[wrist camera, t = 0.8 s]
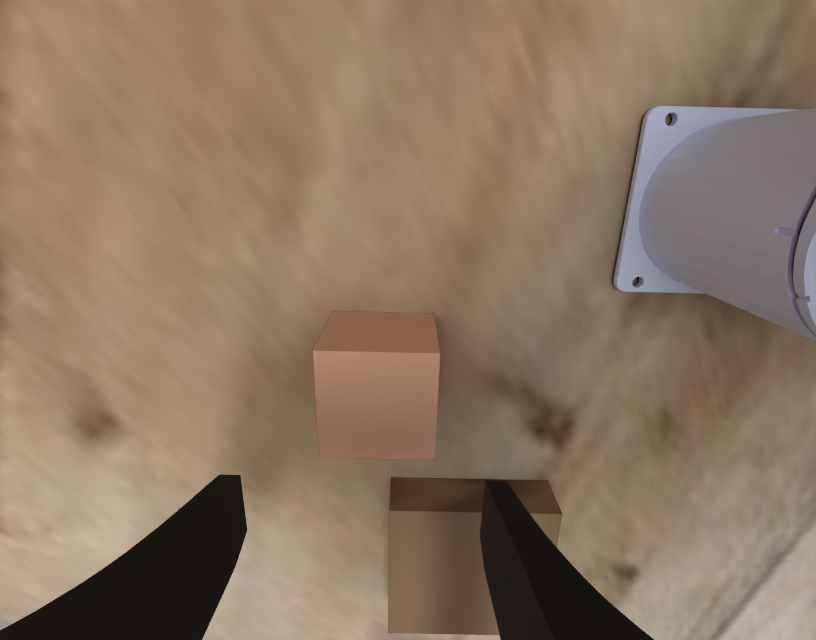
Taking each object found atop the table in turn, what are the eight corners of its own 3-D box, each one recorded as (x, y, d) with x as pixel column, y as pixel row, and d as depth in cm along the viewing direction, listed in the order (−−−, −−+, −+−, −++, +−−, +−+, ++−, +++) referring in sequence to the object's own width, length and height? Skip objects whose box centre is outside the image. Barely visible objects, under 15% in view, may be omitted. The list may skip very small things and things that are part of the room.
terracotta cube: (433, 312, 22) (440, 353, 17) (429, 400, 24) (434, 459, 19) (333, 310, 22) (312, 350, 17) (336, 398, 24) (318, 457, 19)
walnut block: (545, 475, 26) (562, 514, 23) (528, 589, 29) (541, 635, 26) (391, 472, 26) (389, 510, 23) (390, 586, 29) (388, 632, 26)
